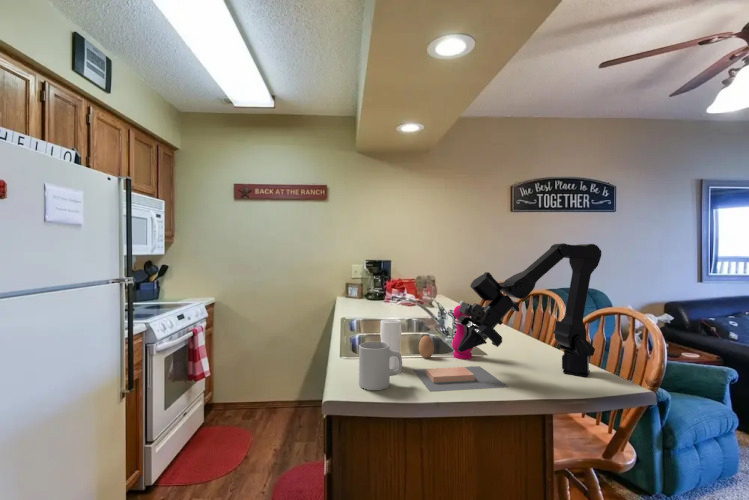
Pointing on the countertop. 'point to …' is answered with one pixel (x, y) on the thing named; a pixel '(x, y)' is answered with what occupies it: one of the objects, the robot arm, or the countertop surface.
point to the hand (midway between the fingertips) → (459, 350)
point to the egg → (426, 347)
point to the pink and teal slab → (450, 375)
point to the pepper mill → (460, 336)
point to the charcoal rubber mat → (481, 382)
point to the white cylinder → (391, 338)
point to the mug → (376, 365)
